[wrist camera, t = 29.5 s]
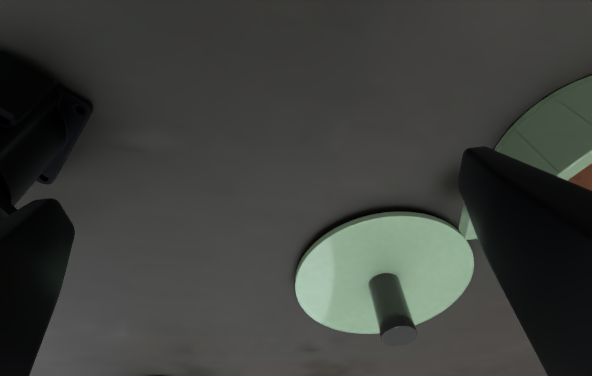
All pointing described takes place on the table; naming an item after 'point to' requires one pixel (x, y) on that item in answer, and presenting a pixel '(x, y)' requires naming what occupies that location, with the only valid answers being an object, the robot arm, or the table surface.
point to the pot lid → (384, 274)
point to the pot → (550, 137)
